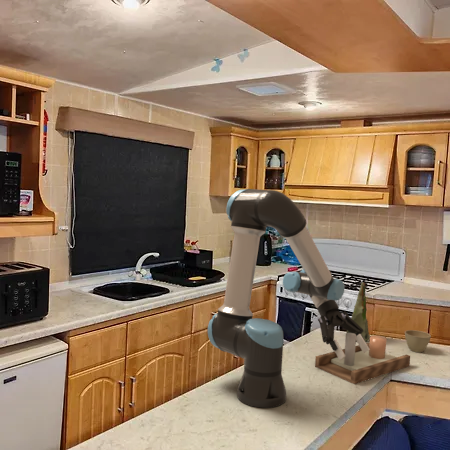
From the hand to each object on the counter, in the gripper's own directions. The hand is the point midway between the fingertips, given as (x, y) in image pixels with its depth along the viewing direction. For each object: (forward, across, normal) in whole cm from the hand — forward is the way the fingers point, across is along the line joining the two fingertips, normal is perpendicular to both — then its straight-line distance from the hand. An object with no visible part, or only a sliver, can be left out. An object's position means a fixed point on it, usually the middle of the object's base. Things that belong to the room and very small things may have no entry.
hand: (355, 354), depth 170 cm
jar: (+1, -16, -4) cm, 17 cm away
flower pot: (+3, -43, -6) cm, 44 cm away
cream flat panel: (+2, -10, -5) cm, 12 cm away
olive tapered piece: (-13, -34, -22) cm, 43 cm away
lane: (+3, -8, -6) cm, 11 cm away
